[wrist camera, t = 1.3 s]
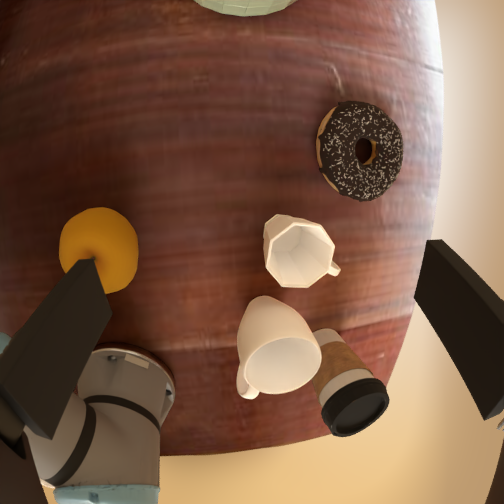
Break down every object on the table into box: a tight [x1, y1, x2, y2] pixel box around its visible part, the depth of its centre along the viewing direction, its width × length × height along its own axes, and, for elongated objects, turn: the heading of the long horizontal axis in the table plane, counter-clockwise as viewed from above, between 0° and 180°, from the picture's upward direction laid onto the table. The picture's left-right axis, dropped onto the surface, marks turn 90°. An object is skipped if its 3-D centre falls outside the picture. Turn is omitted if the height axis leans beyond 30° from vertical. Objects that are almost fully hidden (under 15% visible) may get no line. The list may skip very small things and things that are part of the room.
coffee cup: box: [312, 328, 389, 437], centre depth 36 cm, size 8×8×15 cm
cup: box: [263, 214, 341, 288], centre depth 33 cm, size 7×10×8 cm
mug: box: [237, 296, 322, 399], centre depth 35 cm, size 12×8×11 cm
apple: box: [59, 207, 139, 294], centre depth 29 cm, size 9×9×9 cm
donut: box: [316, 101, 403, 202], centre depth 32 cm, size 11×12×4 cm
